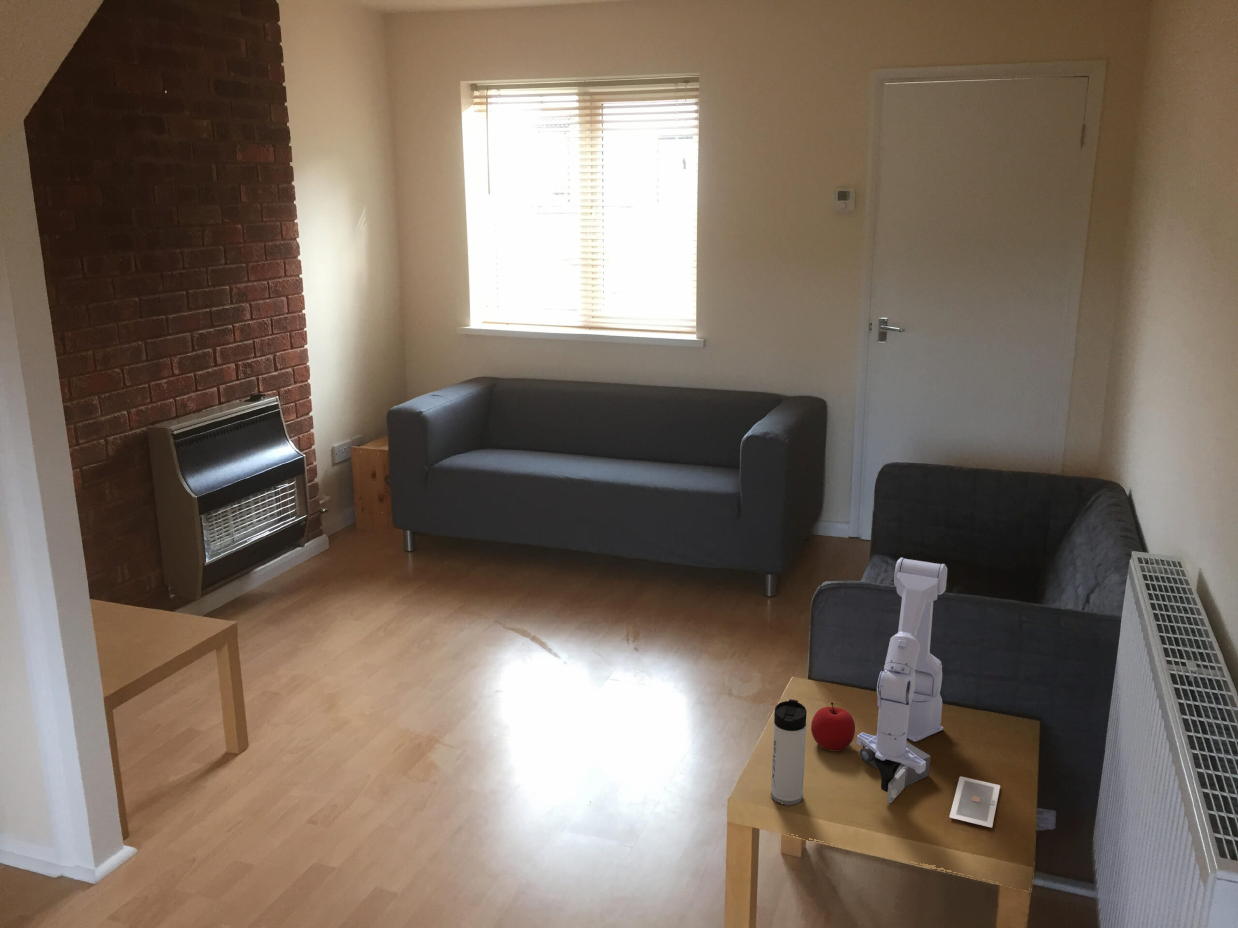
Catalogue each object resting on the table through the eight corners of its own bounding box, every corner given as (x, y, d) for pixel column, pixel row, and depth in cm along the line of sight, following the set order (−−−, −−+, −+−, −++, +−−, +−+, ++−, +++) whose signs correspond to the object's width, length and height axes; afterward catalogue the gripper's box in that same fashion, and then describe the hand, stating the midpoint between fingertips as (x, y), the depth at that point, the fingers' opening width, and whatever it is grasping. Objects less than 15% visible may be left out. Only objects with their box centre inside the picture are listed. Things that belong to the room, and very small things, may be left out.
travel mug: (805, 789, 212) (809, 701, 207) (799, 808, 206) (804, 718, 201) (774, 783, 214) (778, 696, 209) (767, 802, 208) (771, 712, 203)
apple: (808, 753, 225) (811, 712, 222) (811, 731, 233) (813, 691, 230) (853, 759, 223) (855, 717, 220) (854, 736, 231) (857, 696, 228)
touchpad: (948, 821, 203) (949, 812, 202) (959, 780, 216) (960, 771, 215) (991, 832, 200) (992, 822, 199) (999, 789, 213) (1000, 780, 212)
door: (901, 785, 214) (903, 765, 212) (909, 788, 213) (911, 768, 211) (886, 803, 208) (887, 783, 206) (893, 806, 207) (895, 786, 205)
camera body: (885, 748, 226) (886, 727, 225) (928, 775, 217) (930, 753, 215) (855, 761, 222) (857, 739, 220) (899, 789, 212) (901, 766, 211)
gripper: (849, 721, 207) (844, 781, 211) (913, 750, 197) (907, 813, 201) (870, 708, 212) (865, 767, 216) (934, 737, 202) (928, 798, 206)
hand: (887, 788), depth 209 cm, fingers closed, pressing on door
